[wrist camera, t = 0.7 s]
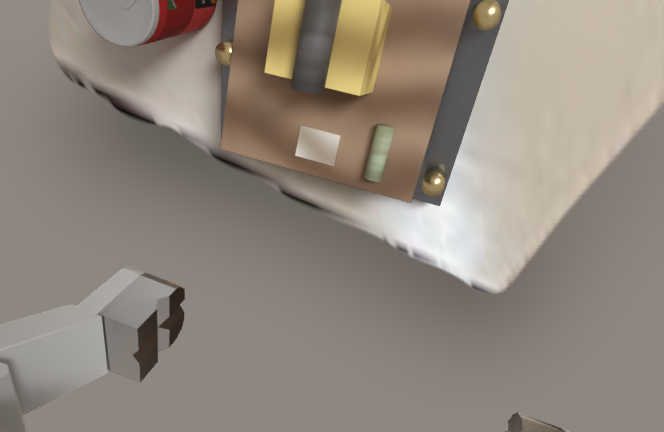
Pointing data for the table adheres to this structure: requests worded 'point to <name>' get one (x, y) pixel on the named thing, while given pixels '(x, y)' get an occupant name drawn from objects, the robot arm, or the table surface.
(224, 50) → the grey tray
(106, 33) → the canned food
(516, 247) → the table surface
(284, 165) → the level plate
